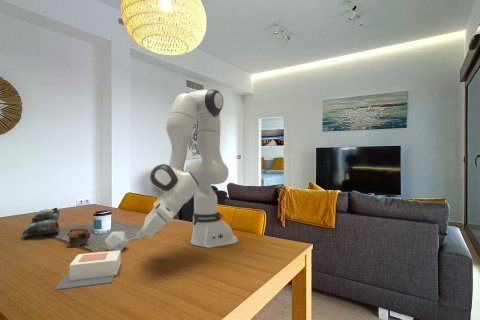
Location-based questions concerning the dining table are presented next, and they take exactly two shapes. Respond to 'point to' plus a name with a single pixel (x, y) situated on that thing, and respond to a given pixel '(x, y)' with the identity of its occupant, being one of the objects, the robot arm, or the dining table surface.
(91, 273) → the cream block
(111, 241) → the die
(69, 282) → the mat
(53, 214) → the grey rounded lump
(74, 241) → the pottery mug
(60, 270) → the dining table surface
